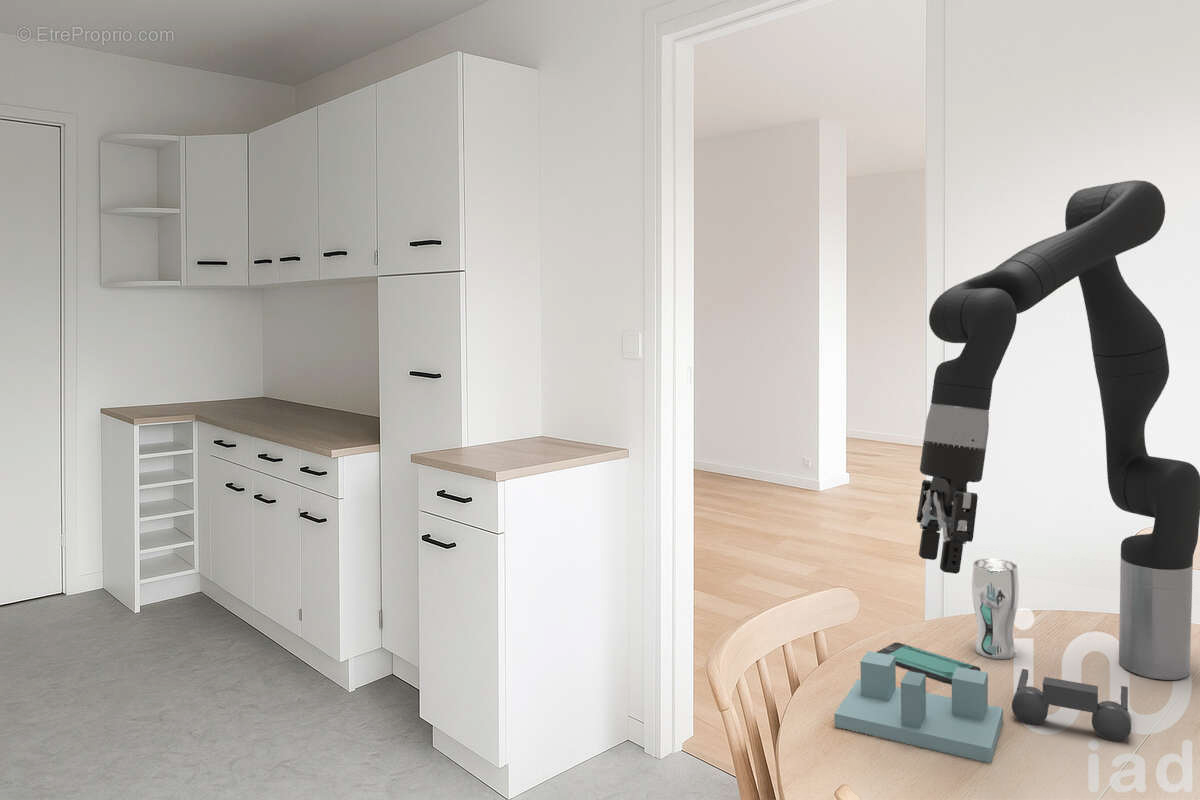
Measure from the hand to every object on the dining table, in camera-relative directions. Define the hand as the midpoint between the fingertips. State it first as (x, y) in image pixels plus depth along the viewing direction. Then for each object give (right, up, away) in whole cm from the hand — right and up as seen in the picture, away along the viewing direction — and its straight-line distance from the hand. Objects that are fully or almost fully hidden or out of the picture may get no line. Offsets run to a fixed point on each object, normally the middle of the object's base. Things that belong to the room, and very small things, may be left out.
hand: (937, 565), depth 107 cm
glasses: (+22, -23, +8) cm, 33 cm away
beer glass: (+22, -21, +30) cm, 42 cm away
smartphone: (+9, -22, +27) cm, 36 cm away
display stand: (+1, -24, +8) cm, 25 cm away
